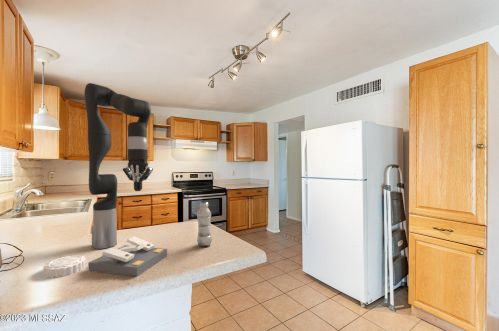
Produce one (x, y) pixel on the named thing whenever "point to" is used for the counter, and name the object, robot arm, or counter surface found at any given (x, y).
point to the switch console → (128, 262)
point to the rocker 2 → (138, 241)
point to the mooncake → (64, 266)
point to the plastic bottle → (204, 225)
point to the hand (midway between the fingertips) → (138, 190)
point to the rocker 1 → (118, 254)
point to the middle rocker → (132, 248)
